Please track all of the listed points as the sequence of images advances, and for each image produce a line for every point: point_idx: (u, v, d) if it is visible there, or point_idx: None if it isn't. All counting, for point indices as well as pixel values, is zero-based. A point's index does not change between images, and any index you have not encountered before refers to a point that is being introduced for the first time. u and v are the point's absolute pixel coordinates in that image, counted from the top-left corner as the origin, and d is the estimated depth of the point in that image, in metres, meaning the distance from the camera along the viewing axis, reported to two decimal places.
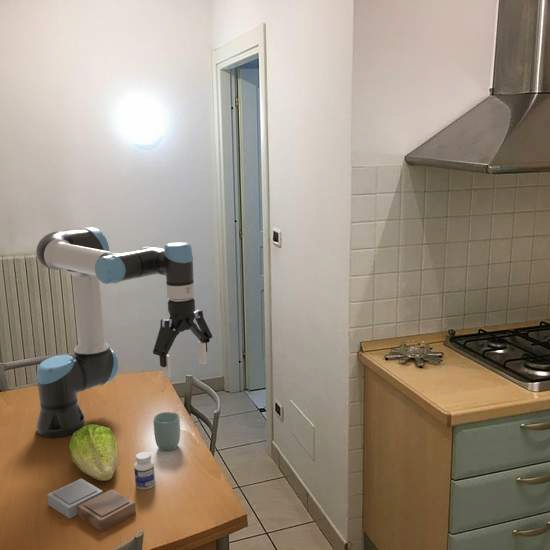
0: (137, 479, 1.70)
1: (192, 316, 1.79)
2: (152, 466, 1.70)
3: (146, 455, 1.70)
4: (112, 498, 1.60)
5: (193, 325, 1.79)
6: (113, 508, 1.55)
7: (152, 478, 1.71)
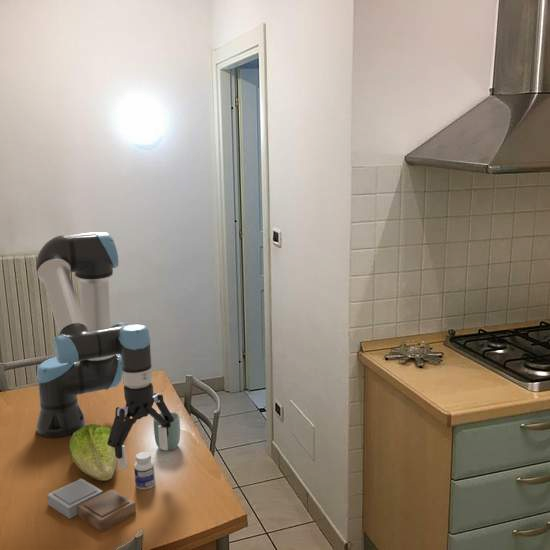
0: (137, 479, 1.70)
1: (151, 401, 1.69)
2: (152, 466, 1.70)
3: (146, 455, 1.70)
4: (112, 498, 1.60)
5: (152, 411, 1.69)
6: (113, 508, 1.55)
7: (152, 478, 1.71)
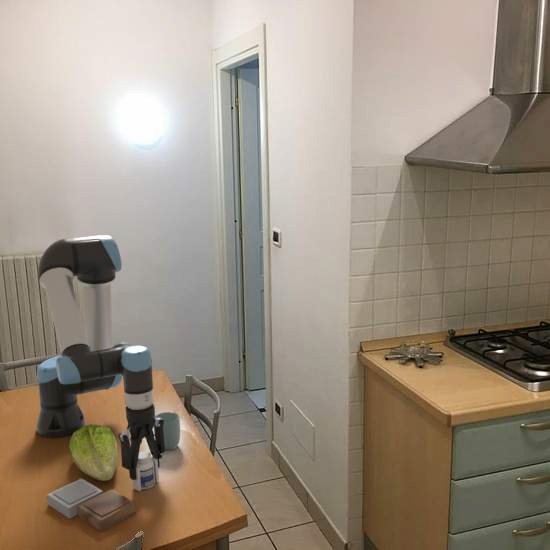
0: None
1: (152, 421, 1.70)
2: (152, 466, 1.70)
3: (146, 454, 1.70)
4: (112, 498, 1.60)
5: (151, 434, 1.69)
6: (113, 508, 1.55)
7: (152, 478, 1.71)
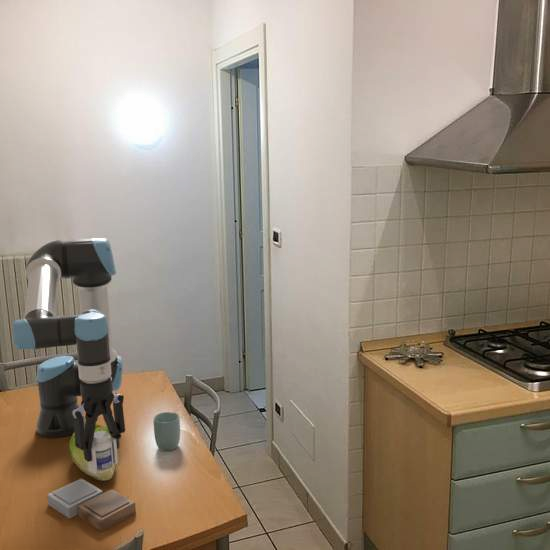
0: None
1: (110, 397, 1.54)
2: (110, 446, 1.54)
3: (103, 434, 1.54)
4: (112, 498, 1.60)
5: (108, 411, 1.53)
6: (113, 508, 1.55)
7: (110, 460, 1.54)
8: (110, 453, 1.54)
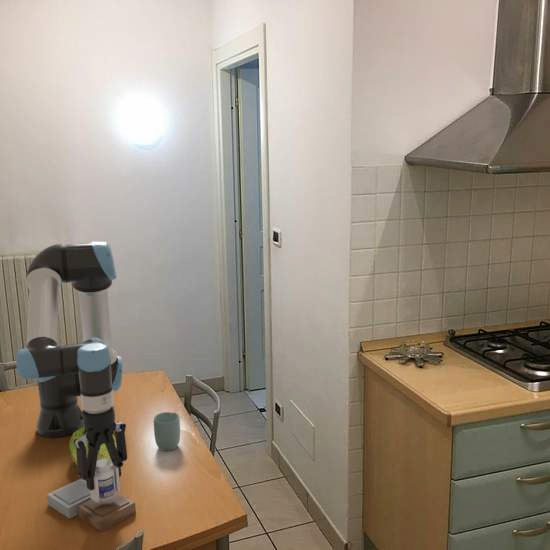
0: None
1: (112, 426, 1.55)
2: (112, 475, 1.56)
3: (105, 462, 1.56)
4: (112, 498, 1.60)
5: (110, 440, 1.55)
6: (113, 508, 1.55)
7: (112, 488, 1.56)
8: (112, 481, 1.56)
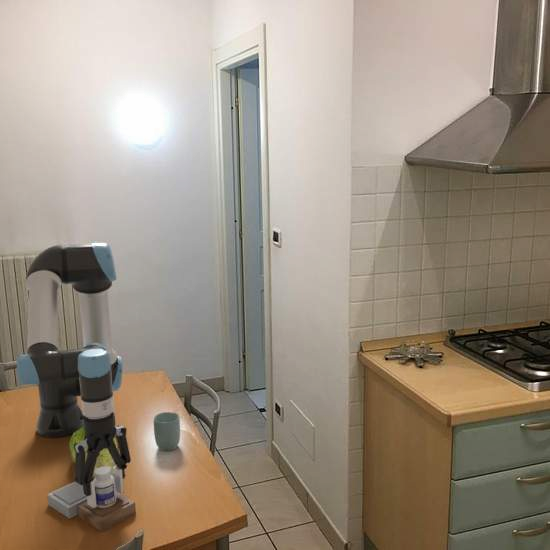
0: (96, 496, 1.55)
1: (113, 432, 1.56)
2: (112, 482, 1.56)
3: (105, 470, 1.56)
4: None
5: (112, 444, 1.55)
6: (113, 508, 1.55)
7: (112, 495, 1.56)
8: (113, 489, 1.56)
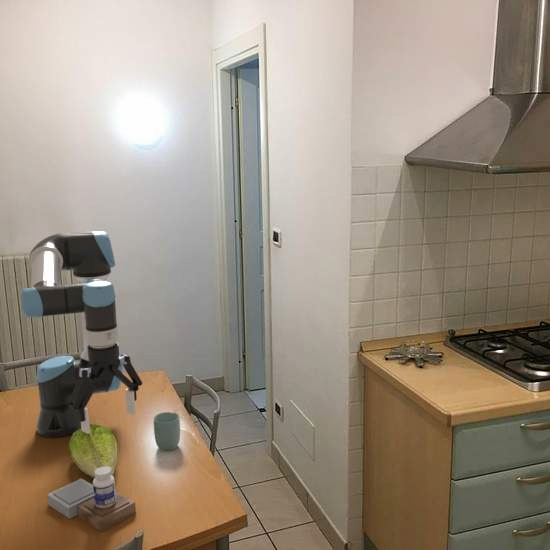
0: (96, 496, 1.55)
1: (117, 363, 1.60)
2: (112, 482, 1.56)
3: (105, 470, 1.56)
4: None
5: (117, 373, 1.59)
6: (113, 508, 1.55)
7: (112, 495, 1.56)
8: (113, 489, 1.56)
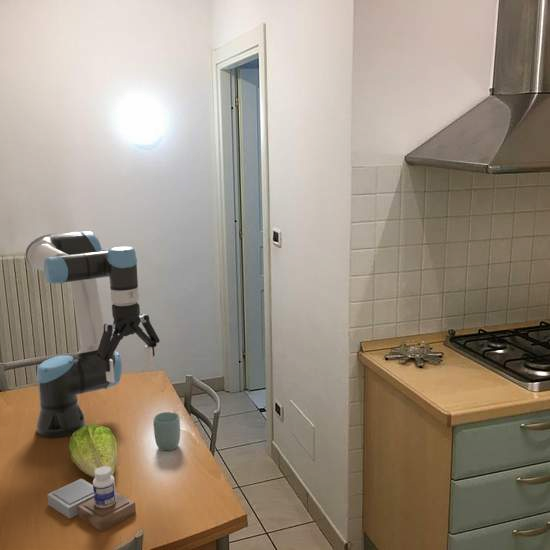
0: (96, 496, 1.55)
1: (137, 320, 1.78)
2: (112, 482, 1.56)
3: (105, 470, 1.56)
4: None
5: (138, 329, 1.78)
6: (113, 508, 1.55)
7: (112, 495, 1.56)
8: (113, 489, 1.56)
